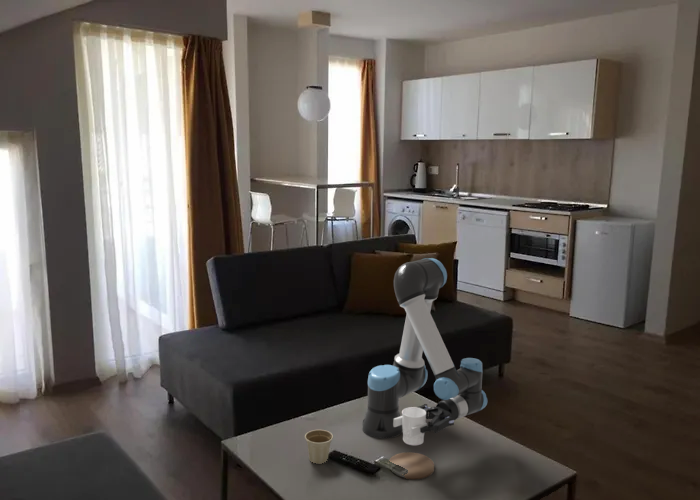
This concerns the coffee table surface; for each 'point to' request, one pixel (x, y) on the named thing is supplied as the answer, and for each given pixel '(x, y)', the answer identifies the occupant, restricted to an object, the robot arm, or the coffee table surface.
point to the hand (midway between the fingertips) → (402, 427)
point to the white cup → (412, 424)
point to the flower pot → (318, 445)
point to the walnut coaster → (414, 464)
